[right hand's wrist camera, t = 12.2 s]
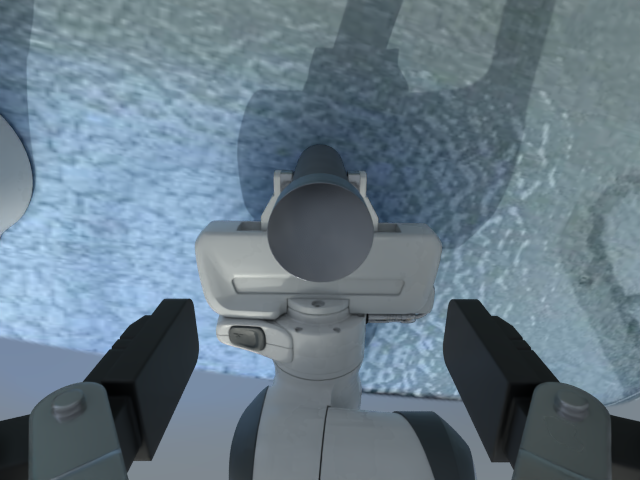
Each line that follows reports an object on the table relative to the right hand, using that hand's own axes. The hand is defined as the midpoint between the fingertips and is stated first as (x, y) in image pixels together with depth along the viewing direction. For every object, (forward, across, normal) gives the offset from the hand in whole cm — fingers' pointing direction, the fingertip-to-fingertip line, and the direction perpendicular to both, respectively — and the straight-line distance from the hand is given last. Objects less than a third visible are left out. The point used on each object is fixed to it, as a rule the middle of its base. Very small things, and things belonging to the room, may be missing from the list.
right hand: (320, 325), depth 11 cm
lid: (+8, 0, 0) cm, 8 cm away
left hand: (+20, 0, -1) cm, 20 cm away
